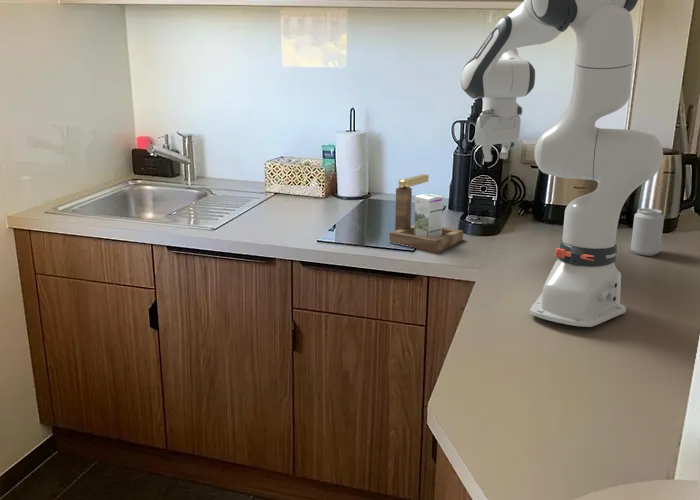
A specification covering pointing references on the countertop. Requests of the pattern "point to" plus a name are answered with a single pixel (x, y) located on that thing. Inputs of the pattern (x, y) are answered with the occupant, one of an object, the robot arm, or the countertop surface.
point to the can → (647, 231)
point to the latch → (412, 181)
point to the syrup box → (428, 215)
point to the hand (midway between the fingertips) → (495, 160)
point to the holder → (406, 231)
